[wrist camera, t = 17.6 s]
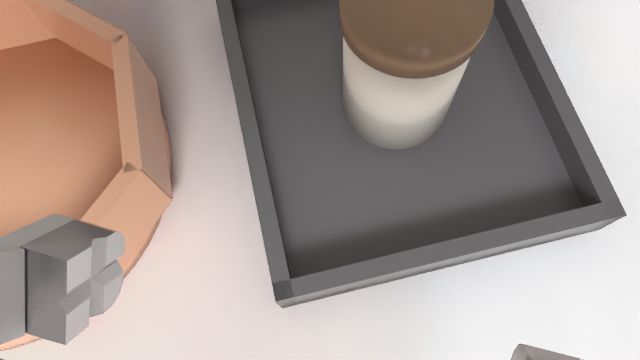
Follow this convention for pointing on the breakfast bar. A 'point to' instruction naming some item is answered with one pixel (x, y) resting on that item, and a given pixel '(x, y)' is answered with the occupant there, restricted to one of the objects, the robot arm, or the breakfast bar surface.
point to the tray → (403, 156)
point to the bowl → (79, 127)
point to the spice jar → (406, 64)
